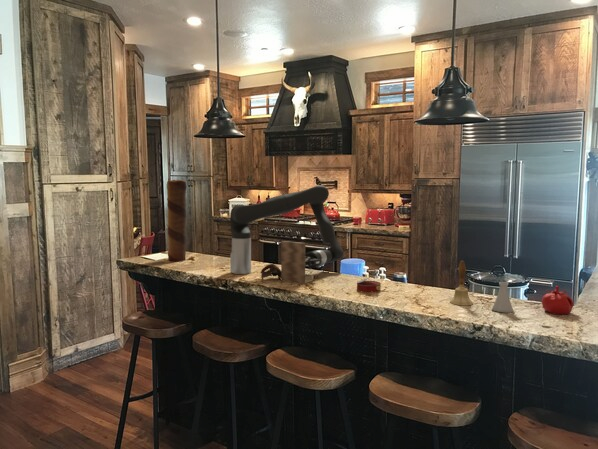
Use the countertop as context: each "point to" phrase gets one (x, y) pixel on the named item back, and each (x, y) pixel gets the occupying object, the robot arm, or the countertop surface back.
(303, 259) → the brown upright block
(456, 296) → the hand bell
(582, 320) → the countertop surface
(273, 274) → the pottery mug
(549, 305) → the pomegranate
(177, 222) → the wafer roll
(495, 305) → the flask
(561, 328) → the countertop surface
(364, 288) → the canned food
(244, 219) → the robot arm
